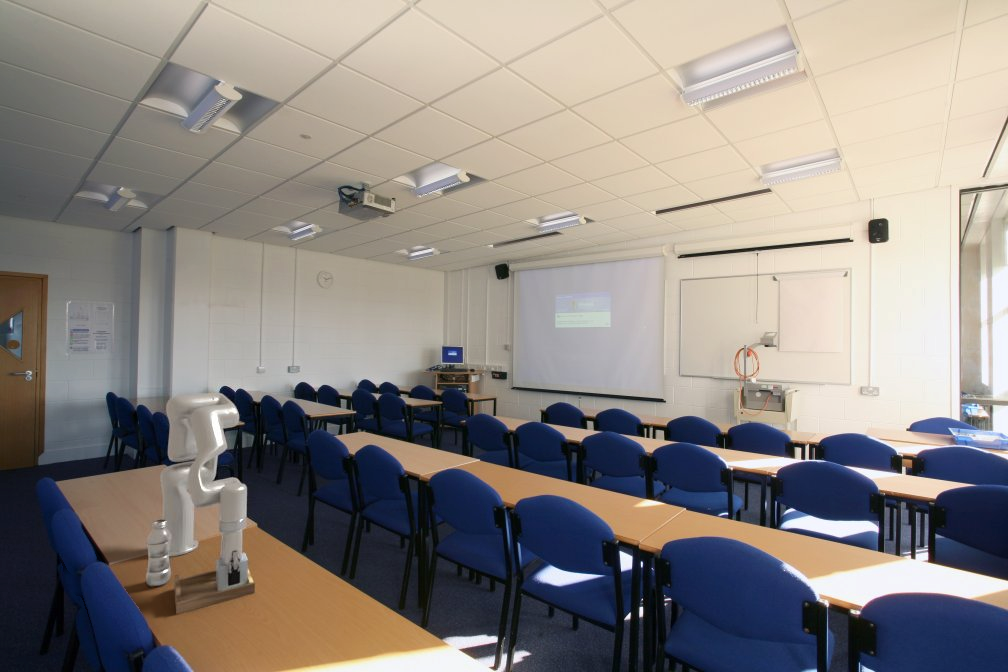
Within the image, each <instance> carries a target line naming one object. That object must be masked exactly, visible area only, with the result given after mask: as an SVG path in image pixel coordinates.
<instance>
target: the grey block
mask: <svg viewBox="0 0 1008 672" xmlns="http://www.w3.org/2000/svg"><path fill="white" fill-rule="evenodd" d="M230 562H233V561H230ZM248 564H249V559H248V557H247V554H246V552H242V559H241V561H240V562H239V566H240V583H239V584H235V585H231V586H228V572H229V564H228V565H226V566H225V565H223V562H222V559H221V557H219V558H216V564H215V565H216V569H215V570H216V584H217V588H218V591H220V590H224V589H228V588H232V587H235V586H239V585H243V584H247V578H248V569H249V565H248ZM232 566H233V565H231V567H232Z"/></svg>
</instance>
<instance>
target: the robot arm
mask: <svg viewBox="0 0 1008 672" xmlns="http://www.w3.org/2000/svg"><path fill="white" fill-rule="evenodd" d="M165 405H166V407H165V408H166V409H165V412H166V416H167V419H168V423H169V431H168V433H169V434H168V445H167V456H168V459H169V461H171V462H175V464H171V465H168V466H167V467H165V468H164V469H162V470H161V472H160V476H159V477H160V478H159V479H160V480H159V481H160V486H161V492H162V493H161V494H162V519H166V524H167V526H166V528H167V529H168V530H169V532H170V533H171V542H170V548H169V558H170V557H176V556H182V555H185V554H188V553H191V552H192V551H194V550H196V549H197V548H198V546H199V541H198V540H196V539H194V534H195V533H194V531H195V529H194V527H195V525H194V524H195V522H194V521H195V507H196V508H199V509H205V508H208V507H212V506H217V505H219V509H218V510H219V519H218V520H219V521H218V531H219V533H221V541H220V542H221V543H220V558H221V559H222V562H223V565H225V566H226V565H228V564H229V572H228V586H231V585H235V584H239V583H240V566H239V562H240V561H241V559H242V553H243V530H245V529H246V528H247V509H248V508H247V504H248V503H247V502H248V498H247V497H248V487H247V485H246V484H245V483H242V482H241V481H240V480H239V479H238V478H237V477H227V478H223V479H216V478H215V477H216V475H217V466H218V458H219V455H221V454H223V453H224V452H226V450H227V449H228V444H227V443H228V442H227V440H226V436H225V432H224V429H228V428H233V427H236V426H237V425H238V424H239V421H240V414H239V411H238V409H237V406H236V405H235V403H234V402H232V401H231V399H229V398H228V397H227V396H226V395H224V394H223V393H221V392H205V393H204V392H203V393H192V394H191V393H190V394H182V395H181V394H179V395H176V396H172V397H170V398H169V399H168V401H167V403H166V404H165ZM215 479H216V480H215ZM187 490H188V491H189V492H188V491H187ZM230 561H233V562H230ZM231 565H233V566H232V567H231Z"/></svg>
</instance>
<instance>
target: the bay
mask: <svg viewBox="0 0 1008 672" xmlns="http://www.w3.org/2000/svg"><path fill="white" fill-rule="evenodd" d="M173 587H174V588H173V589H174V590H173V591H174V600H175V603H174V604H175V611H176V612H175V614H176V616H177V615H180V614H184V613H187V612H188V613H189V612H192V611H194V610H198V609H202V608H205V607H209V606H212V605H217V604H219V603H223V602H227V601H230V600H234V599H237V598H241V597H244V596H249V595H252V594H255V593H256V592H255V588H256V583H255V582H254V580H253V577H252V574H251V572H250V570H249V568H248V578H247V584H243V585H239V586H235V587H232V588H228V589H224V590H220V591H218V588H217V584H216V569H215V570H211V571H206V572H202V573H198V574H194V575H190V576H187V577H186V576H185V577H182V578H180V574H179V573H178V574H175V575H174V586H173Z"/></svg>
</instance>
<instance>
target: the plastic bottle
mask: <svg viewBox="0 0 1008 672" xmlns="http://www.w3.org/2000/svg"><path fill="white" fill-rule="evenodd" d="M166 526H167V524H166V519H163V518H162V519H156V520H154V521H152V524H151V529H152V530H151V531H150V532H149V534H148V535H147V537H146V547H147V555H148V556H147V557H148V563H147V570H146V576H145V583H146V584H147V585H148V586H149V587H157V586H162V585H165V584H166V583H168V582H169V581H170V578H171V575H172V570H171V566H170V557H169V548H170V542H171V533H170V532H169V530H168V529H167V528H166Z"/></svg>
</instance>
